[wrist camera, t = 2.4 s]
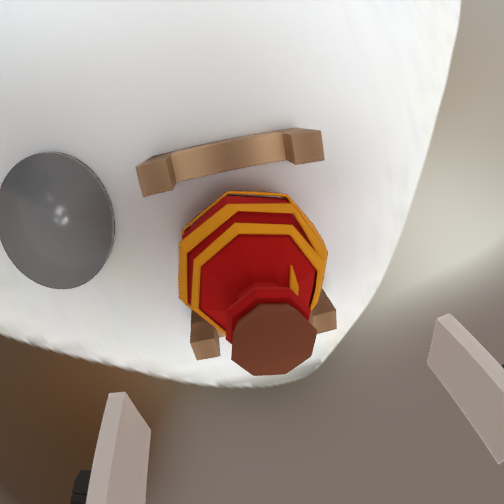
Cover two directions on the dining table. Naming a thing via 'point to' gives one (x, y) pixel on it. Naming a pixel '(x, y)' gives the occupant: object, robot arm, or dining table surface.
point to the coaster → (55, 220)
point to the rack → (225, 159)
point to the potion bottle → (255, 277)
